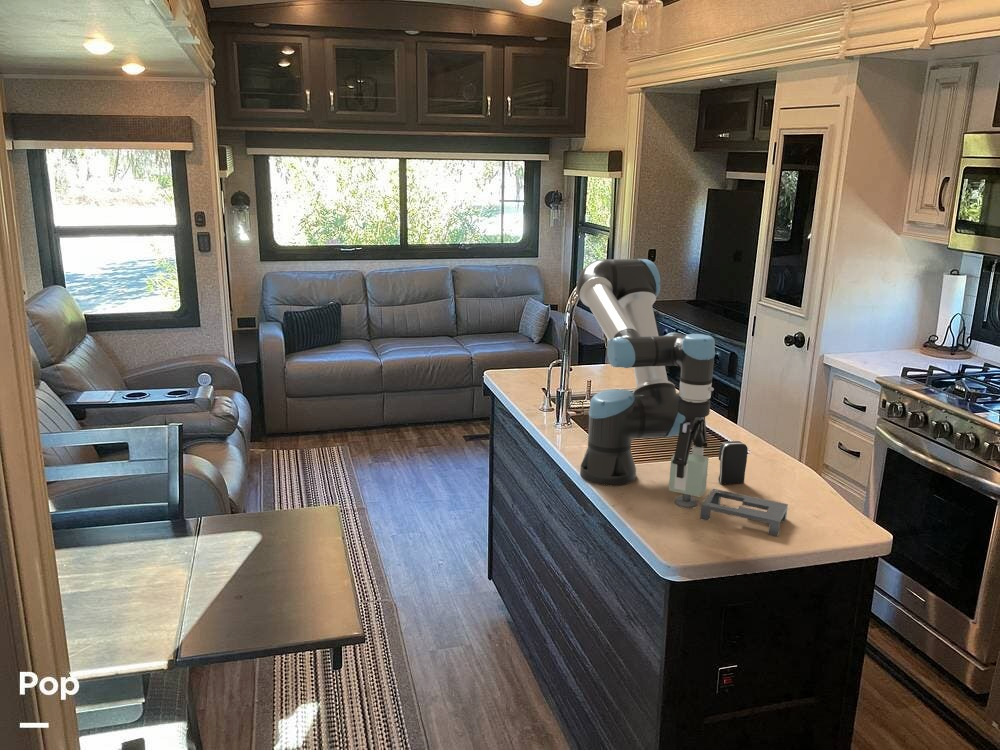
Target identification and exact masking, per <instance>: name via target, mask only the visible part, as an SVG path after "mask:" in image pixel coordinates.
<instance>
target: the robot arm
mask: <svg viewBox="0 0 1000 750" xmlns="http://www.w3.org/2000/svg"><path fill="white" fill-rule="evenodd" d="M658 269H659V268H658V267H657V266H656V264H655V263H654V262H653V261H652V260H649V259H645V258H639V257H638V258H631V259H630V258H629V259H628V258H627V259H626V258H623V259H622V258H619V259H616V258H615V259H613V258H612V259H608V258H607V259H606V258H605V259H603V258H602V259H598V260H597V259H596V260H594V261H592V262H590V263H589V264H587V265H586V266H585V267H584V268H583V269H582V271H580V274H579V276H578V278H577V281H576V293H577V296H578V297H579V300H580V301H581V302H582V304H583V305H584V306H586V307H588V308H589V309H590V311H591V313H592V314H593V316H594V318H595V320H596V321H597V324H598V325H599V327H600V329H601V330H602V332H603V333H604V335H605V337H606V339H607V340H608V343H607V346H606V347H607V348H606V355H607V358H608V364H609V365H611V366H612V367H613V368H624V369H630V368H633V371H634V372H633V373H634V379H635V383H636V387H635V388H634V390H633V391H631V390H627V389H619V388H617V389H615V388H614V389H606V390H603V391H600V392H598V393H596V394H594V395H593V396H592V397H591V398H590V402H589V410H588V435H587V436H588V437H587V448H586V451H585V453H584V457H583V458H582V462H581V464H580V468H579V469H580V471H579V472H580V474H579V475H580V477H581V478H582V479H583V480H585V481H587V482H590V483H592V484H595V485H601V486H608V485H609V487H610V485H612V487H613V486H624V485H628V484H631V483H632V482H634V481H635V480H636V479H637V478H636V477H637V466H636V463H635V460H634V456H633V453H632V440H634V439H637V440H638V439H652V438H653V439H655V438H665V439H666V438H669V437H676V436H678V438H677V442H676V447H675V452H674V454H675V456H674V460H672V463H673V464H676V470H675V484H674V488H675V489H680V490H684V491H685V490H686V483H687V470H688V464H687V460H688V456H689V454H694V455H700V456H704V450H705V449H704V448H707V447H708V442H707V439H708V438H707V426H706V423H707V422H706V417H708V416H709V415H710V413H711V412H710V410H711V400H710V399H711V396H712V392H713V391H714V390H715V389H714V387H712V385H713V375H714V373H713V372H714V364H715V356H716V350H715V347H716V342H715V338H714V337H713V336H711V335H707V334H703V333H688V334H686V335H685V334H683V333H679V332H674V331H673V332H669V333H667V334H665V335H659V332H658V327H657V322H656V317H655V312H654V308H653V305H654V303H655V302H656V300H657V297H658V296H659V294H660V292H661V276H660V272H659V270H658ZM667 366H669V367H671V366H672V367H673V366H675V367H678V368H679V369H680V377H679V388H678V389H679V390H678V392H677V390H676V389H677V388H676V385H675V384H674V383H673V382H672V381H670V380H668V375H667V370H666V367H667ZM690 452H691V453H690ZM679 459H682V460H679ZM630 482H631V483H630Z"/></svg>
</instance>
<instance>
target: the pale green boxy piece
mask: <svg viewBox="0 0 1000 750" xmlns="http://www.w3.org/2000/svg"><path fill="white" fill-rule="evenodd" d="M674 456H675V453H674V454H673V455H672V456H670V468H669V480H668V481H669V483H668V491H670V492H675V493H680V494H682V495H678V496H676V497H674V504H675V505H676V507H679V508H682V509H694V508H697V507H698V506H699V505H698V504H699V500H698V499H697V498H696V497H698V498H701V497H702V496H703V495H704V493H705V492H706V490H707V482H708V481H707V479H708V478H707V477H708V470H709V469H708V467H709V459H710V458H709V456H704V455H703V456H700V455H694V454H692V453H689V456H688V460H687V464H688V470H687V483H686V490H685V491H684V490H680V489H675V488H674V484H675V470H676V464H673V463H672V460H674ZM679 460H682V459H679Z"/></svg>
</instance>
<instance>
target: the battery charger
mask: <svg viewBox="0 0 1000 750" xmlns="http://www.w3.org/2000/svg"><path fill="white" fill-rule="evenodd" d="M748 451H749V449H748V446H747V444H746V443H744V442H742V441H739V440H735V441H734V440H733V441H724V442H722V443H720V446H719V451H718V460H719V461H720V463H719V475H718V482H719V484H721V485H736V484H744V483H745V477H746V476H745V475H746V468H747V462H748V461H747V460H748Z"/></svg>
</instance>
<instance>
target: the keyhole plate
mask: <svg viewBox="0 0 1000 750" xmlns="http://www.w3.org/2000/svg"><path fill="white" fill-rule="evenodd" d="M721 498H722V499H726V500H727V499H729V500H732V501H737V502H742V506H741V505H740V506H739V507H738V508H735V507H730V506H727V505H726V506H725V505H721ZM750 507H751V508H750ZM788 507H789V504H788V503H784V502H779V501H773V500H770V499H764V498H761V497H755V496H750V495H746V494H741V493H735V492H732V491H731V492H730V491H726V490H721V489H717V488H712V490H711V492H709V494H708V495H707V496H706V497H705V499H704V500H703V501H702V502H701V504H700V512H699V514H700V516H699V519H700V520H704V521H707V522H708V521H709V520H710V519H711V515H712V514H711V513H712V512H716V513H720V514H726V515H730V516H735V517H739V518H743V519H747V520H752V521H756V522H761V523H765V524H769V526H768V533H767V534H768V535H769V536H773V537H778V536H779V534H780V527H781V522H782V523H784V522H786V520H787V515H788ZM754 508H755V509H754ZM756 508H757V509H756ZM763 510H765V511H763Z"/></svg>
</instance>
